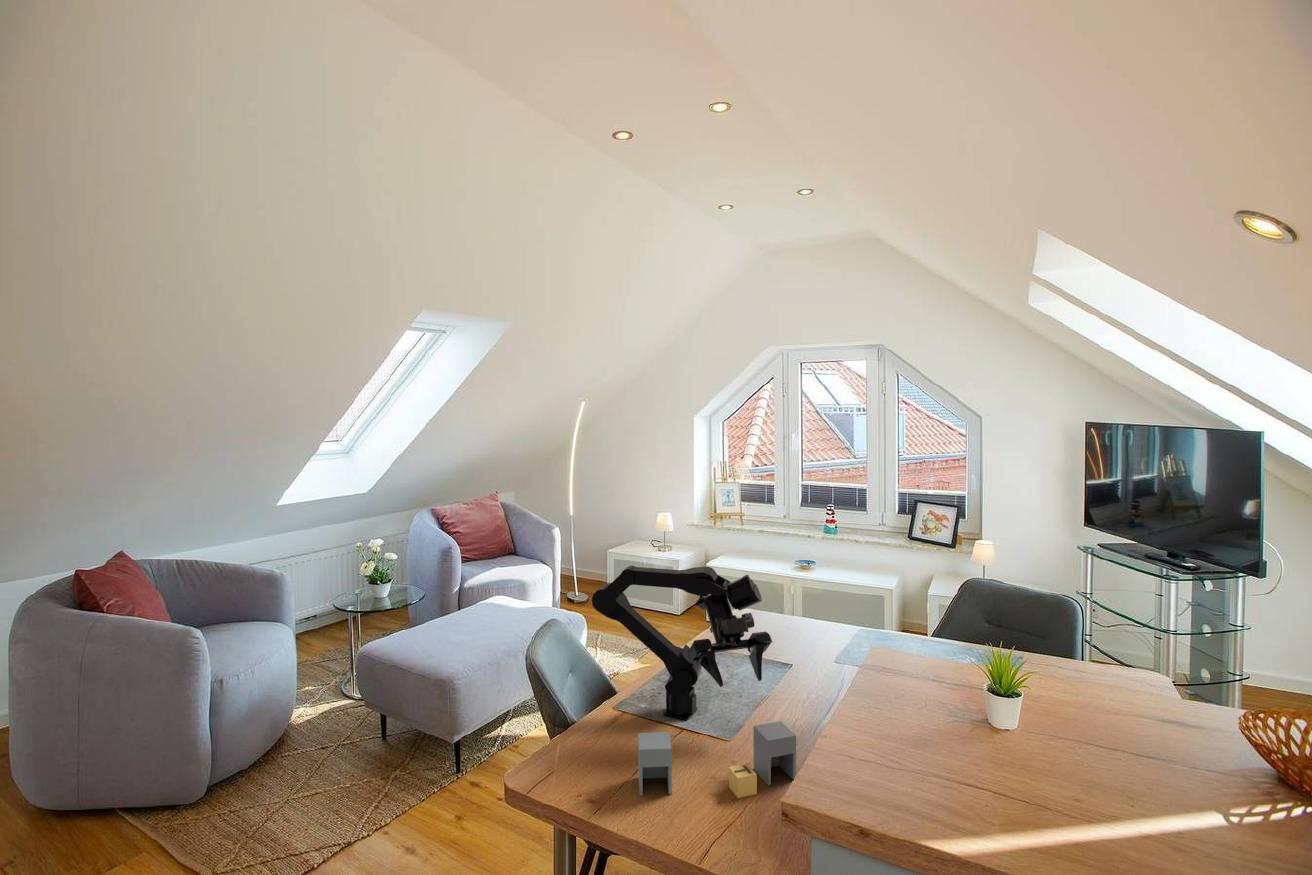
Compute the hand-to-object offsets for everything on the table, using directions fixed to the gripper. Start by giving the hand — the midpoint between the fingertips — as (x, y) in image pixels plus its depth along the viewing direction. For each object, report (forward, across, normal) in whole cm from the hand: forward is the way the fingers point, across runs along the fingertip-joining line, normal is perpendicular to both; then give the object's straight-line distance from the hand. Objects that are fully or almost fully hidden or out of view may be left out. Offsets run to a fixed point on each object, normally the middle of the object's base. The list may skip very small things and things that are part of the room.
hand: (741, 683), depth 142 cm
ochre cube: (+21, -7, -2) cm, 22 cm away
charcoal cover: (+19, +1, 0) cm, 19 cm away
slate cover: (+16, -23, +3) cm, 28 cm away
